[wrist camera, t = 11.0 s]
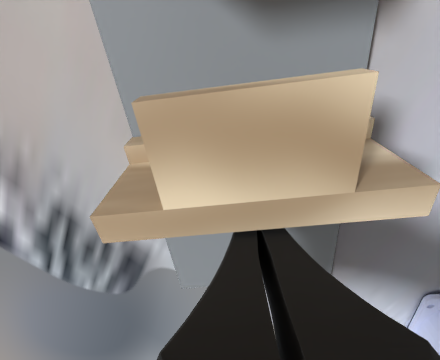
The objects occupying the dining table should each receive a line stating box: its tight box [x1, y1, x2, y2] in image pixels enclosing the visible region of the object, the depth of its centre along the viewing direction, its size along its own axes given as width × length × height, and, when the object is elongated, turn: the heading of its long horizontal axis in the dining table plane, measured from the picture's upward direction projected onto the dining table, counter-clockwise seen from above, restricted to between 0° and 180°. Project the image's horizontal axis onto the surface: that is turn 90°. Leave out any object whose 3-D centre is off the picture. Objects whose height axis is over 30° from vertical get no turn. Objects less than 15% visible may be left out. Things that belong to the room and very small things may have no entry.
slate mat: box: [89, 0, 379, 288], centre depth 11 cm, size 25×11×1 cm, turn 7°
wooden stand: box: [90, 68, 440, 243], centre depth 9 cm, size 6×11×5 cm, turn 97°
